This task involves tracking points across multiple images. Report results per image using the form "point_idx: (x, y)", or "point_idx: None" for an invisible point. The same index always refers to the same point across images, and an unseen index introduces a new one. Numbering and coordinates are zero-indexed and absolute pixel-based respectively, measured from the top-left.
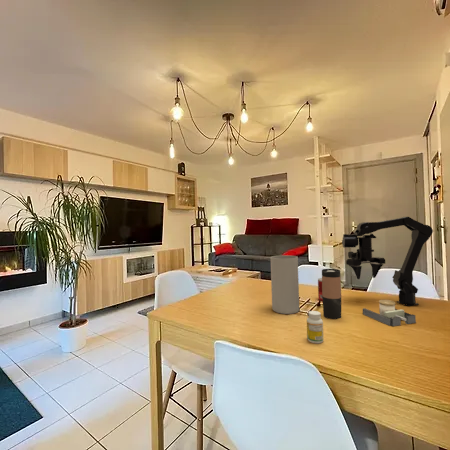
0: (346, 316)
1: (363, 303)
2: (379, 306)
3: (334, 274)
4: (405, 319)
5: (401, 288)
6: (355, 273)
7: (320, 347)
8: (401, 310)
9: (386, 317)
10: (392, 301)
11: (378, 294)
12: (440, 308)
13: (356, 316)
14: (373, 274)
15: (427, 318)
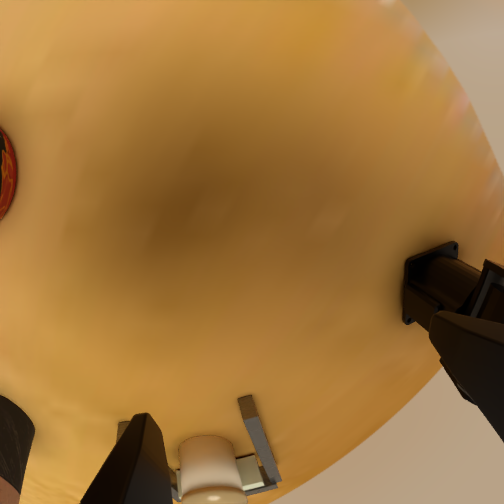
0: (51, 427)
1: (196, 266)
2: (183, 481)
3: None
4: None
5: (483, 292)
6: (94, 495)
7: (20, 497)
8: (253, 487)
9: (175, 495)
10: (242, 502)
11: (418, 72)
12: None
13: (88, 434)
14: (463, 350)
15: (341, 434)
